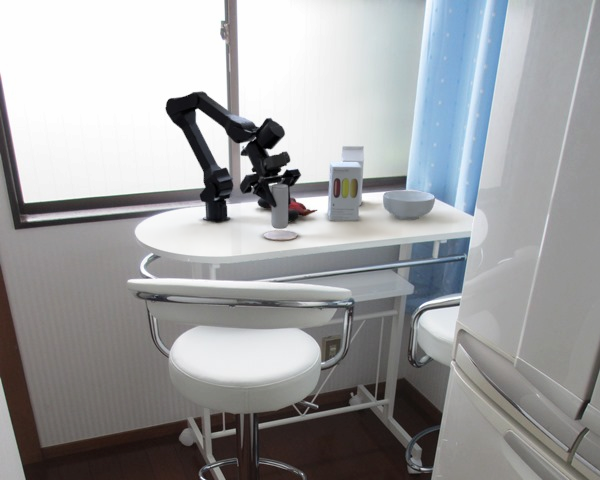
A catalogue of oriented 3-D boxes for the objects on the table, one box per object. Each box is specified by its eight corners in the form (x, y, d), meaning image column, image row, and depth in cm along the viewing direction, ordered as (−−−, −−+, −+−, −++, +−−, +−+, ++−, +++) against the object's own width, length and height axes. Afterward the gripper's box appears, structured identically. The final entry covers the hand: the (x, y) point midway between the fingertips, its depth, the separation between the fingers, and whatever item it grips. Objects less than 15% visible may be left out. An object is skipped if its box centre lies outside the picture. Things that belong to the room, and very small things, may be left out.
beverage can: (271, 224, 204) (271, 183, 199) (287, 224, 205) (287, 183, 199) (272, 229, 200) (272, 187, 194) (288, 229, 201) (288, 187, 195)
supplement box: (329, 221, 219) (331, 166, 211) (327, 213, 227) (328, 161, 219) (359, 221, 220) (362, 166, 212) (355, 213, 228) (358, 161, 220)
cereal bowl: (441, 221, 220) (443, 199, 216) (392, 224, 216) (394, 202, 212) (420, 209, 234) (422, 188, 230) (374, 212, 230) (375, 190, 227)
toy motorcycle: (278, 228, 216) (325, 216, 219) (275, 212, 213) (323, 200, 216) (257, 211, 237) (300, 201, 240) (254, 196, 234) (298, 186, 237)
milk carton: (361, 205, 238) (364, 148, 228) (340, 205, 238) (342, 147, 229) (360, 201, 244) (362, 144, 235) (340, 200, 244) (342, 144, 235)
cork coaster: (256, 236, 203) (256, 235, 203) (278, 229, 210) (278, 228, 210) (283, 243, 198) (283, 241, 197) (304, 235, 205) (304, 234, 204)
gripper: (244, 145, 189) (267, 193, 187) (297, 139, 199) (320, 185, 197) (229, 169, 198) (251, 216, 196) (281, 163, 208) (303, 207, 206)
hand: (282, 205), depth 198 cm, fingers closed on beverage can, 5 cm apart
